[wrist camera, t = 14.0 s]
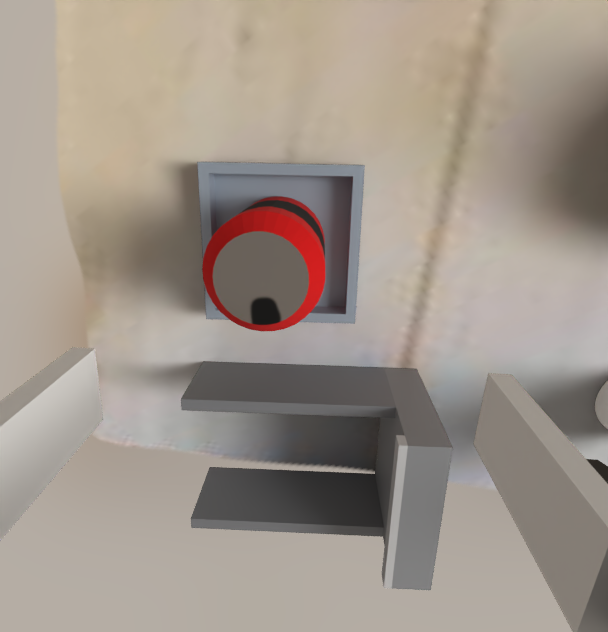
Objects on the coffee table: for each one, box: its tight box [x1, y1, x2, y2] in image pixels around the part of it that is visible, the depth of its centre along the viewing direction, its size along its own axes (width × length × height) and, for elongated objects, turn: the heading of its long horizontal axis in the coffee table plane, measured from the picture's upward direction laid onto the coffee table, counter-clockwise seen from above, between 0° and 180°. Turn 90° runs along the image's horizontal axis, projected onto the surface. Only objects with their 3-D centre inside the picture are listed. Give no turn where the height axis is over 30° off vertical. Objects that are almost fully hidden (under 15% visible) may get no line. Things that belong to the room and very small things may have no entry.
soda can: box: [202, 196, 325, 331], centre depth 31 cm, size 8×8×12 cm
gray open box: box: [181, 362, 453, 590], centre depth 38 cm, size 13×20×12 cm, turn 89°
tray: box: [197, 162, 365, 324], centre depth 36 cm, size 13×13×2 cm
